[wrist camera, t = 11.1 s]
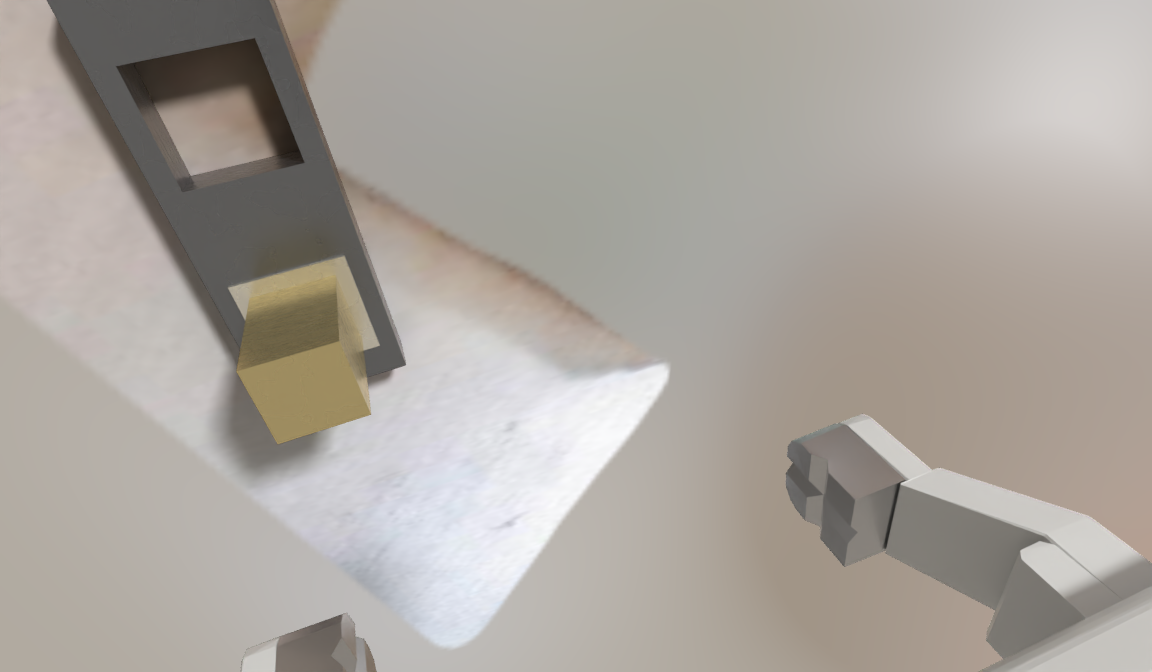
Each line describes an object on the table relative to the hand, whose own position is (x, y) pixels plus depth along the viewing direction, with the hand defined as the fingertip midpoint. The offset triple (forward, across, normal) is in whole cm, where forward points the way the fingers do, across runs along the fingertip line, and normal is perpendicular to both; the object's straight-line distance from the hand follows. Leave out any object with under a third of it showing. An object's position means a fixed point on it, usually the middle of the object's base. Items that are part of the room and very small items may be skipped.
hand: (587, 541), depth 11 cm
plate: (+29, +8, +2) cm, 30 cm away
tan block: (+26, +8, +8) cm, 29 cm away
